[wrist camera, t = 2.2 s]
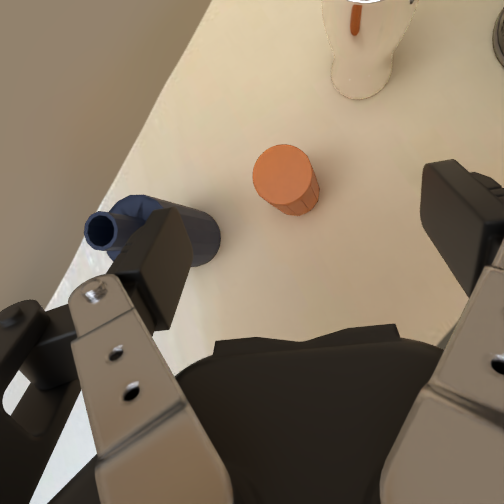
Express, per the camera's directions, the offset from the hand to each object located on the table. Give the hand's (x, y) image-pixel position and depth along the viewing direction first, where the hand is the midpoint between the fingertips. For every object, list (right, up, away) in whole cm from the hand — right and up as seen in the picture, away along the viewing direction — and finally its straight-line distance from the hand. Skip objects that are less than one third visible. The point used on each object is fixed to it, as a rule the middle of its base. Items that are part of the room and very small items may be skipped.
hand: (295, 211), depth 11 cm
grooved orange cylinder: (+3, +5, +26) cm, 27 cm away
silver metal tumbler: (+10, +18, +25) cm, 32 cm away
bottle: (-8, 0, +29) cm, 31 cm away
